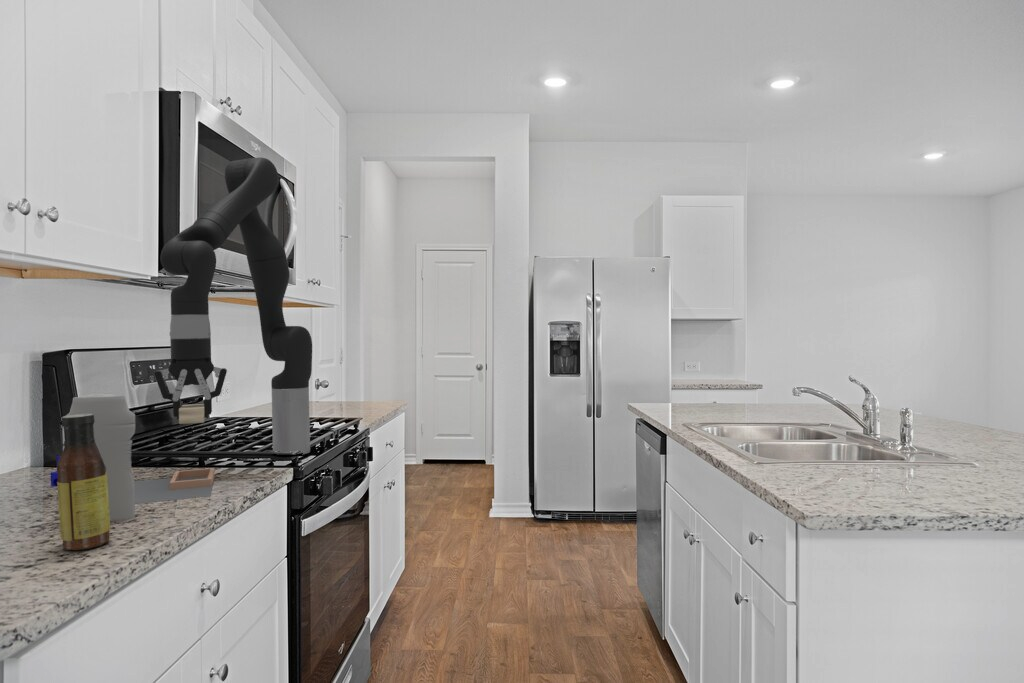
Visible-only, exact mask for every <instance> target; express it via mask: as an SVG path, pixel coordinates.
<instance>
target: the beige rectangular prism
mask: <svg viewBox="0 0 1024 683" xmlns="http://www.w3.org/2000/svg"><path fill="white" fill-rule="evenodd" d="M206 419H207V418H205V413H204V403H195V404H193V403H192V404H191V403H190V404H182V407H181V408H179V419H178V424H179V425H186V424H204V423H205V421H206Z"/></svg>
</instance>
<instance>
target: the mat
mask: <svg viewBox="0 0 1024 683" xmlns="http://www.w3.org/2000/svg"><path fill="white" fill-rule="evenodd" d="M206 478H208V476H202V477H191V478H180V479H179V481H185V480H195V479H206ZM171 479H172V477H167V478H160V479H159V478H158V479H147V480H134V494H135V505H139V504H141V505H142V504H148V503H158V502H168V501H169V502H170V501H176V500H177V501H178V500H188V499H189V500H190V499H196V498H198V499H199V498H207V497H211V495H212V492H213V488H214V483H215V479H216V473H215V476H214V479H213V483H212V486H208V487H197V488H187V489H177V490H170V481H171Z"/></svg>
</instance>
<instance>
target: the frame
mask: <svg viewBox="0 0 1024 683" xmlns="http://www.w3.org/2000/svg"><path fill="white" fill-rule="evenodd" d="M215 471H216V470H215V467H209V468H207V467H206V468H197V469H196V468H195V469H186V470H185V469H184V470H175V472H174V474H173V476H172V477H171V478H172V479H171V481H170V490H177V489H187V488H197V487H208V486H212V483H213V479H214V476H215V474H216V473H215ZM202 476H208V478H206V479H195V480H185V481H179V479H180V478H191V477H202ZM215 477H216V476H215Z"/></svg>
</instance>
